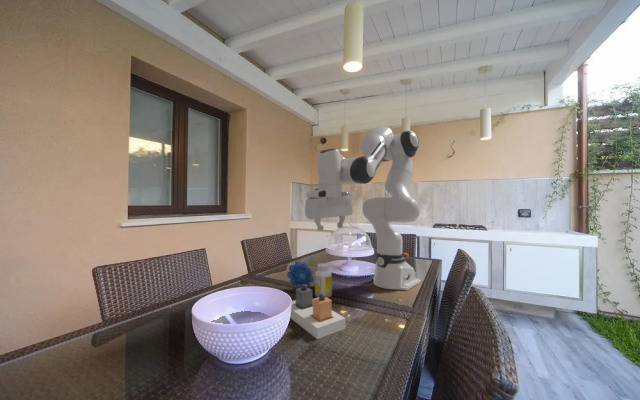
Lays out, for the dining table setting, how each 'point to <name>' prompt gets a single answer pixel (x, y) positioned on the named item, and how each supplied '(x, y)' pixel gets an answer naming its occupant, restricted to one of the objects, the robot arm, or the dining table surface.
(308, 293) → the twin plug
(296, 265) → the grapes
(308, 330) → the light grey socket block
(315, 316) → the plug
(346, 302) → the dining table surface
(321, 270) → the supplement bottle
